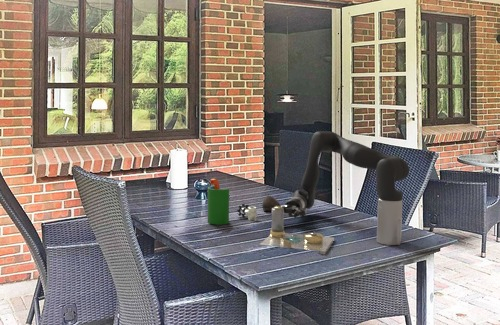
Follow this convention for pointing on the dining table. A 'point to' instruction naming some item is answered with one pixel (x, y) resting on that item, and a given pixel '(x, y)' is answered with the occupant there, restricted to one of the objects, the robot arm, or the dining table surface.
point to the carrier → (301, 241)
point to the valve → (248, 212)
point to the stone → (269, 203)
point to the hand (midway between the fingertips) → (285, 214)
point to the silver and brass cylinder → (277, 222)
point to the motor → (218, 204)
